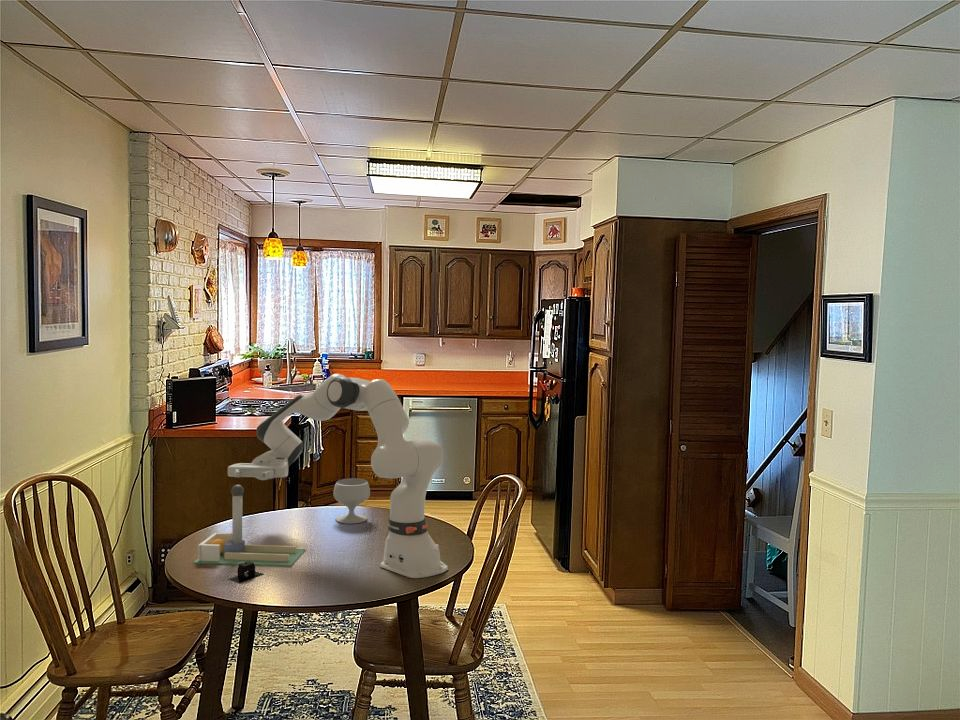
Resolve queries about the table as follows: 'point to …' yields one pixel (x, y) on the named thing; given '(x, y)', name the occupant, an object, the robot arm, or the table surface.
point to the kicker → (236, 522)
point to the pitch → (292, 559)
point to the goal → (213, 553)
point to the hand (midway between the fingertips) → (250, 475)
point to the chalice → (351, 498)
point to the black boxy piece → (248, 575)
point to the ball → (219, 542)
